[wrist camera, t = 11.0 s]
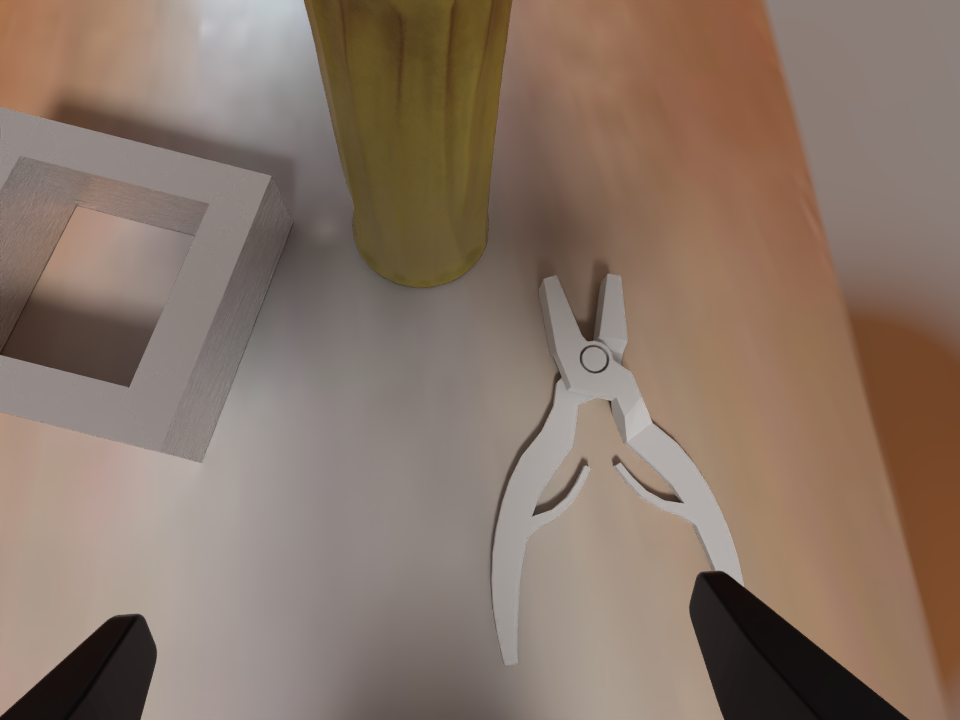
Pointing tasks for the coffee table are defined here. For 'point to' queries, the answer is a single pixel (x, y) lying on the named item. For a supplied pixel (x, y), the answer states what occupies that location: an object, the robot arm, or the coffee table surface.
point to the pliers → (584, 379)
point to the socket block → (194, 297)
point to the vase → (414, 126)
